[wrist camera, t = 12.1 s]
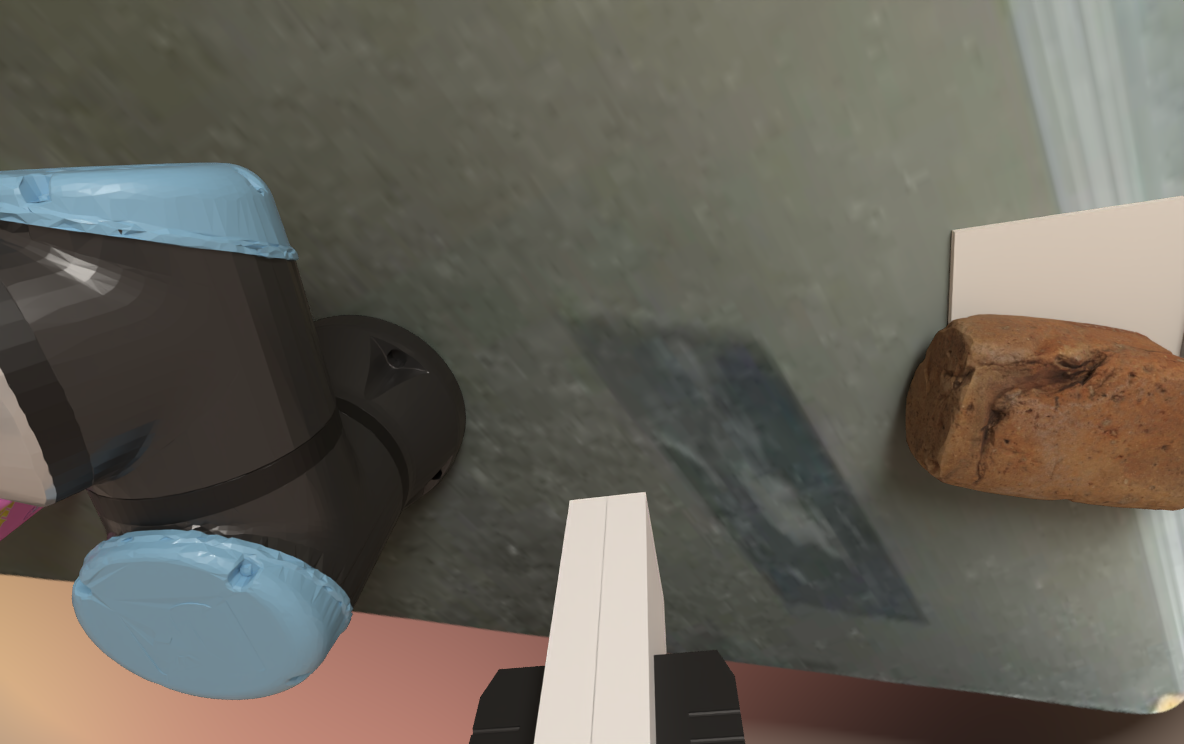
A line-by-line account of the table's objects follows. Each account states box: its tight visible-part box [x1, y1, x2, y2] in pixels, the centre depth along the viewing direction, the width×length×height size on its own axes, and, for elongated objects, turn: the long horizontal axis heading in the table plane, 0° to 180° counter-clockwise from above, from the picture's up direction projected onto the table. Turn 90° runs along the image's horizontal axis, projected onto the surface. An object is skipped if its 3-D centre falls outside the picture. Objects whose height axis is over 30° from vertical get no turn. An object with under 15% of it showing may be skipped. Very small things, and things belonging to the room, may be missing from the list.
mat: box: [948, 196, 1184, 358], centre depth 46 cm, size 16×16×1 cm
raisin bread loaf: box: [906, 314, 1184, 511], centre depth 45 cm, size 11×8×20 cm
